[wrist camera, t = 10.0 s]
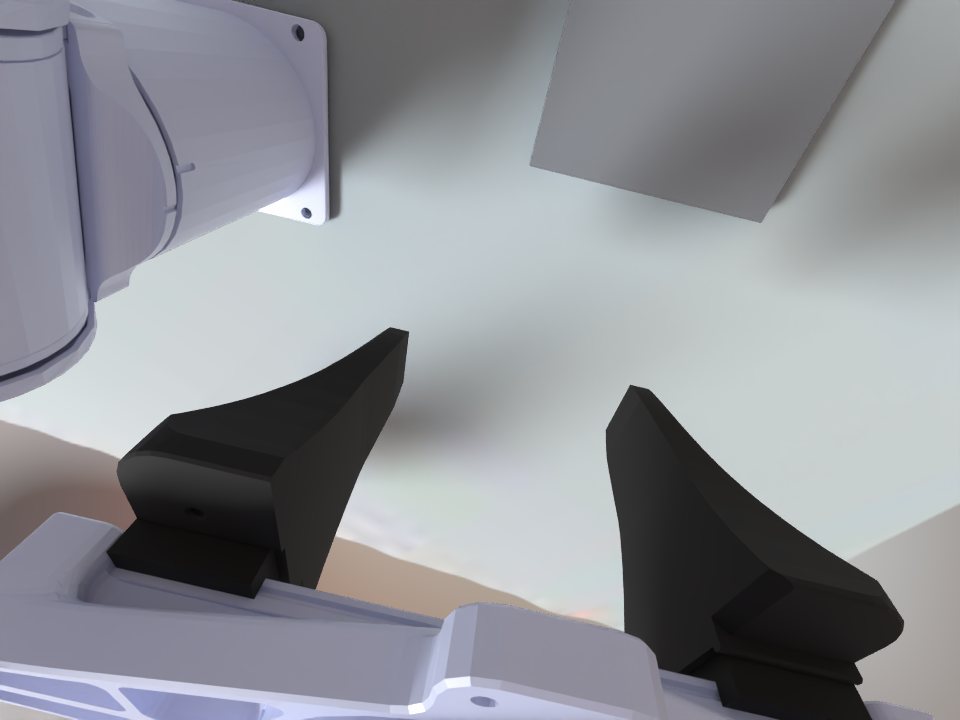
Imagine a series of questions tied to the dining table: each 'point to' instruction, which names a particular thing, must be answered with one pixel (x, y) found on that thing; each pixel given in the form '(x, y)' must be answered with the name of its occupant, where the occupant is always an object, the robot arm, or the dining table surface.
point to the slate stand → (698, 94)
